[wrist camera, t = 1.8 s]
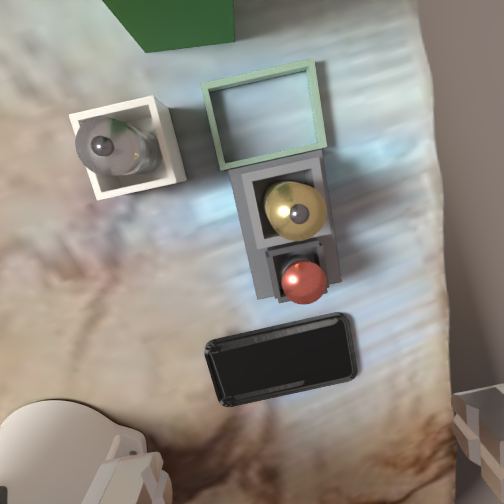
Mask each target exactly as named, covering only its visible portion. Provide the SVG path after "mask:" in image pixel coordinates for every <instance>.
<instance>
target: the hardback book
mask: <svg viewBox="0 0 504 504" xmlns="http://www.w3.org/2000/svg"><path fill="white" fill-rule="evenodd" d="M102 1H103V2H104V3H105V4H106V6H107V7H108V8H109V9H110V10H111V12H112V13H113V14H114V15H115V16H116V18H117V19H118V20H119V21H120V23H121V24H122V25H123V26H124V27H125V29H126V30H127V31H128V32H129V33H130V35H131V36H132V37H133V38H134V39H135V41H136V42H137V43H138V44H139V45H140V47H141V48H142V49H143V50H144V52H145V53H149V52H157V51H165V50H174V49H182V48H190V47H198V46H206V45H215V44H223V43H231V42H235V36H234V16H233V0H102Z"/></svg>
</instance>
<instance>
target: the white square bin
mask: <svg viewBox="0 0 504 504" xmlns="http://www.w3.org/2000/svg"><path fill="white" fill-rule="evenodd" d="M96 116H107V117H111V118H113V119H116V120H118V121H121V122H124V123H126V124H129V125H131V126H134V127H136V128H139V129H141V130H144V131H147V132H149V133H151V134H153V135H154V136H155V137H156V138H157V139H158V142H159V145H160V149H161V153H162V156H163V160H162V162H161V164H160V166H159V167H158V168H157V169H156V170H155V171H153V172H151V173H148V174H135V175H117V176H103V175H99V174H96V173H94V172H92V171H91V170H89V169H88V168H87V167H86V168H87V171H88V174H89V177H90V180H91V183H92V186H93V189H94V192H95V195H96V198H97V200H101V199H106V198H110V197H115V196H119V195H124V194H128V193H133V192H138V191H142V190H147V189H151V188H156V187H160V186H165V185H169V184H174V183H178V182H183V181H187V178H186V174H185V170H184V166H183V162H182V158H181V155H180V151H179V147H178V143H177V139H176V135H175V131H174V128H173V124H172V120H171V116H170V112H169V108H168V107H167V106H165V105H164V104H163V103H162V102H161V101H159V100H158V99H157V98H156V97H155V96H153V95H152V96H148V97H144V98H139V99H135V100H130V101H126V102H122V103H117V104H113V105H108V106H104V107H100V108H95V109H91V110H87V111H82V112H78V113H73V114H69V117H70V120H71V123H72V126H73V129H74V132H75V135H77V132H78V130H79V128H80V126H81V125H82V124H83V123H84V122H85V121H86V120H88V119H90V118H92V117H96Z"/></svg>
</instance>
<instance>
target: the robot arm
mask: <svg viewBox="0 0 504 504" xmlns="http://www.w3.org/2000/svg"><path fill="white" fill-rule="evenodd" d="M451 404H452V407H453V409H454V410H455V411H456V412H457V414H456V416H455V417H454V419H453V426H454V432H455V435H456V437H457V440H458V442H459V444H460V446H461V448H462V450H463V451H464V453H465V454H466V455H467V457H468V458H469V460H471V461H473V462H474V463H476V464H478V465H480V466H481V472H482V477H483V479H484V480H485V481H486V483H487V484H488V485H489V487H490V488H491V489H492V490H493V492H494V493H495V495H496V496H497V497H498V499H499V500H500V501H501V503H504V383H503V384H499V385H494V386H491V387H485V388H480V389H475V390H470V391H465V392H460V393H455V394H453V395H452V397H451ZM135 451H136V452H135ZM162 465H163V459H162V457H161V455H160V453H159V452H151V453H147V446H146V439H145V436H144V435H143V434H142V433H141V432H139V431H137V430H134V429H131V428H128V427H124V426H120V425H117V424H116V423H114V422H112V421H111V420H109V419H108V418H106V417H105V416H104V415H102V414H100V413H99V412H97V411H95V410H93V409H91V408H89V407H87V406H84V405H81V404H78V403H74V402H69V401H60V400H48V401H40V402H35V403H32V404H29V405H26V406H24V407H22V408H20V409H18V410H16V411H15V412H13V413H12V414H11V415H9V416H8V417H7V418H6V419H5V421H4V422H3V423H2V425H1V426H0V504H172V485H171V480H170V477H169V475H168V473H166V472H165V471H163V470H162Z"/></svg>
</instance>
